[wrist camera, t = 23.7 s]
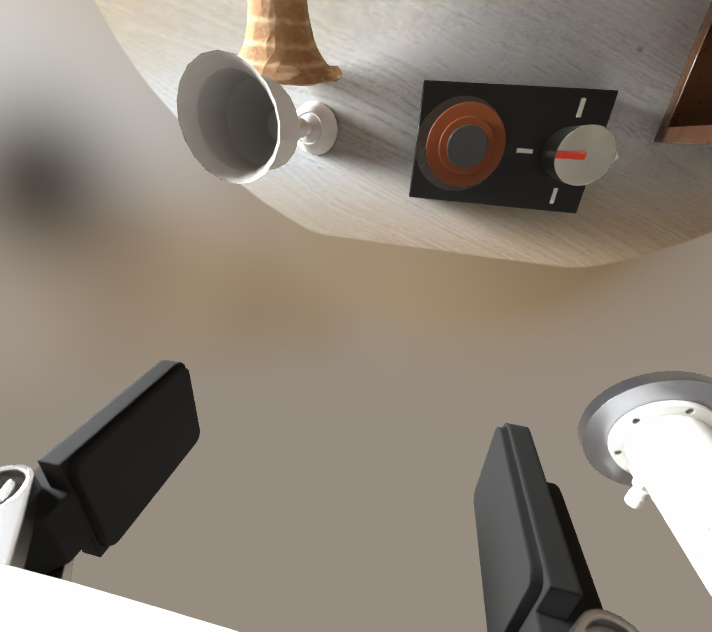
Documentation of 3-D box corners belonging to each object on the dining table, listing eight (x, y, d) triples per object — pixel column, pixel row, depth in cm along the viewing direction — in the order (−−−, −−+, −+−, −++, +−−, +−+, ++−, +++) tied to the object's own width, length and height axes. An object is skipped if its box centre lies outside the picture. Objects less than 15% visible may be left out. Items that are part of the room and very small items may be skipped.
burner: (492, 194, 34) (492, 194, 34) (410, 186, 36) (409, 186, 35) (514, 98, 31) (515, 98, 30) (422, 93, 32) (422, 92, 32)
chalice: (274, 102, 37) (156, 75, 22) (333, 77, 35) (250, 28, 20) (298, 173, 40) (209, 196, 24) (354, 154, 38) (297, 166, 22)
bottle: (482, 179, 34) (499, 193, 25) (423, 174, 35) (419, 185, 26) (497, 112, 31) (521, 101, 22) (433, 108, 32) (432, 96, 23)
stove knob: (602, 127, 30) (628, 126, 26) (584, 182, 32) (606, 188, 28) (547, 124, 31) (565, 122, 27) (533, 178, 33) (548, 184, 29)
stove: (584, 210, 36) (597, 216, 33) (410, 192, 39) (408, 197, 36) (625, 95, 31) (643, 91, 29) (424, 84, 34) (424, 79, 31)
